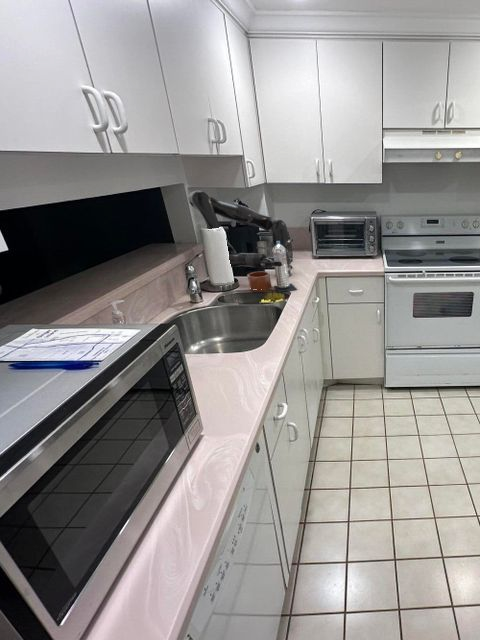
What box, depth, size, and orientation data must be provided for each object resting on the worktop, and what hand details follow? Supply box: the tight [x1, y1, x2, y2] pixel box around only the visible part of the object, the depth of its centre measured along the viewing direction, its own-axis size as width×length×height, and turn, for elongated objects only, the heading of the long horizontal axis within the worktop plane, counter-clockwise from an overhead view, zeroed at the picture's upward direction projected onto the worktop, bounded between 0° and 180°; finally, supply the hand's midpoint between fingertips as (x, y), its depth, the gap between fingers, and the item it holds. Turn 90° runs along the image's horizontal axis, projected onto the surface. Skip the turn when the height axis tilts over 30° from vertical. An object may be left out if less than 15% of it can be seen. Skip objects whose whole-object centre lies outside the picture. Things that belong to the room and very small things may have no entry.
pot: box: [246, 270, 273, 293], centre depth 212 cm, size 11×11×8 cm
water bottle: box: [271, 241, 290, 289], centre depth 206 cm, size 7×7×25 cm
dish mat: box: [273, 283, 298, 294], centre depth 213 cm, size 11×10×1 cm
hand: (284, 262), depth 205 cm, fingers closed on water bottle, 6 cm apart
